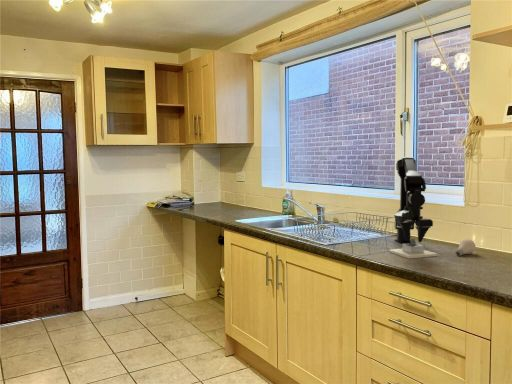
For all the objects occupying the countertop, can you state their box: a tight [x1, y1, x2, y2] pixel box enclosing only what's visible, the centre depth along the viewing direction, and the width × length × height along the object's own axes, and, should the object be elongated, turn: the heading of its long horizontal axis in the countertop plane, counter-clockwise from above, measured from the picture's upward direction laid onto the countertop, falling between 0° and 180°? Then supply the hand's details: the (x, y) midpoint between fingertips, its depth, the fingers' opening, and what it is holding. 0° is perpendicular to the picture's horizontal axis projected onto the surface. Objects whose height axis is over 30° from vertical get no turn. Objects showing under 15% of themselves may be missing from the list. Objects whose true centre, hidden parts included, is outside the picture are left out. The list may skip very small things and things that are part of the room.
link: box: [401, 242, 425, 254], centre depth 200 cm, size 6×6×3 cm
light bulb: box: [455, 238, 477, 257], centre depth 197 cm, size 7×7×11 cm
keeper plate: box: [388, 238, 438, 259], centre depth 199 cm, size 14×14×6 cm
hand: (413, 240), depth 199 cm, fingers open, 9 cm apart
